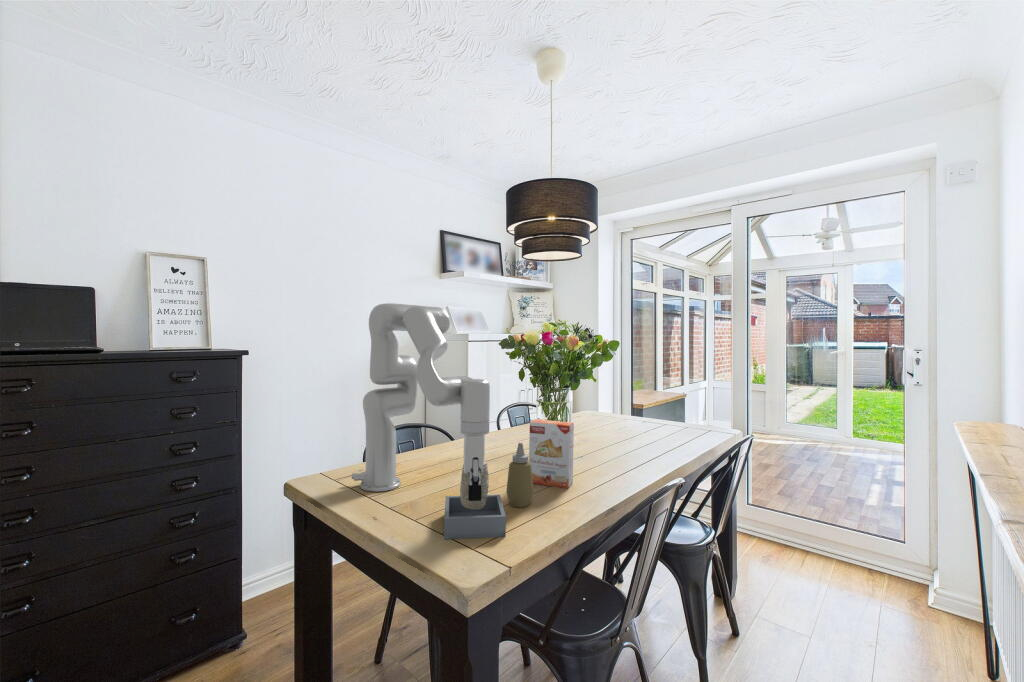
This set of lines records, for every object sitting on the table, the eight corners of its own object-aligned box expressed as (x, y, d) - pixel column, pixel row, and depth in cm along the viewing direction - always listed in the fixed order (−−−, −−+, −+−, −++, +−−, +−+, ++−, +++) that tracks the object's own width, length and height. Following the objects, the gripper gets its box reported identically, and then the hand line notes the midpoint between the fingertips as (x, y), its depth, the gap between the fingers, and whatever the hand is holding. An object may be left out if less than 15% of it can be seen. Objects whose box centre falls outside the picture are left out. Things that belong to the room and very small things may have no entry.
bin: (444, 539, 107) (444, 518, 107) (445, 514, 122) (445, 496, 122) (505, 536, 109) (505, 516, 109) (499, 512, 124) (499, 494, 124)
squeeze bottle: (524, 511, 125) (525, 448, 124) (500, 505, 129) (501, 444, 129) (538, 502, 131) (539, 442, 131) (515, 497, 136) (516, 438, 136)
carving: (484, 512, 112) (485, 465, 112) (456, 510, 113) (456, 463, 113) (491, 503, 118) (491, 458, 118) (464, 501, 119) (464, 456, 119)
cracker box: (528, 483, 149) (528, 421, 148) (533, 478, 154) (534, 418, 154) (568, 489, 143) (569, 425, 143) (573, 483, 149) (574, 421, 149)
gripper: (460, 420, 123) (459, 484, 124) (460, 434, 106) (460, 508, 106) (486, 420, 124) (486, 483, 124) (492, 433, 107) (491, 507, 107)
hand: (474, 494), depth 115 cm, fingers closed on carving, 6 cm apart
